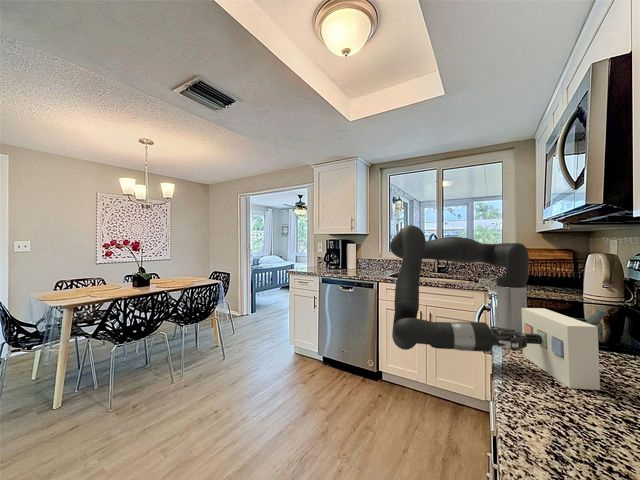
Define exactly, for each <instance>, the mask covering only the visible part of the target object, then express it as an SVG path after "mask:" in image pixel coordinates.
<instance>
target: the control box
mask: <svg viewBox="0 0 640 480" xmlns="http://www.w3.org/2000/svg"><path fill="white" fill-rule="evenodd" d="M574 318H575V317H570V316H567V315H565V314H561V313H558V312H556V311H553V310H550V309H547V308H544V307H543V308H541V307H538V308H537V307H527V308H522V333H524V325H530V326H532V327H533V334H537V331H543V332H545V333H547V347H543V346H542V345H540V344H527V347H525V348H522V356H523V357H524V358H525V359H527V360H528V361H530V362H531V363H532V364H534V365H535V366H536V367H538V368H540V369H541V370H543V371H544V372H546V373H547V374H549V376H552V377H553V379H556V380H557V381H559V382H560V383H562V385H564V386H565V387H567V388H569V389H576V390H578V389H579V390H589V391H590V390H594V391H601V382H600V379H601V378H600V377H601V376H600V374H601V373H600V357H599V356H600V354H599V353H600V352H599V337H598V327H597V326H594V325H591V324H588V323H585V322H582V321H579V320H576V319H574ZM551 338H557V339H559V340H561V341H563V344H564V356H559V355H557V354H556V353H554V352H552V343H551Z"/></svg>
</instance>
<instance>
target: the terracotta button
mask: <svg viewBox="0 0 640 480" xmlns="http://www.w3.org/2000/svg"><path fill="white" fill-rule="evenodd" d="M524 333H528V334H533V327H532V326H530V325H524Z"/></svg>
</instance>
